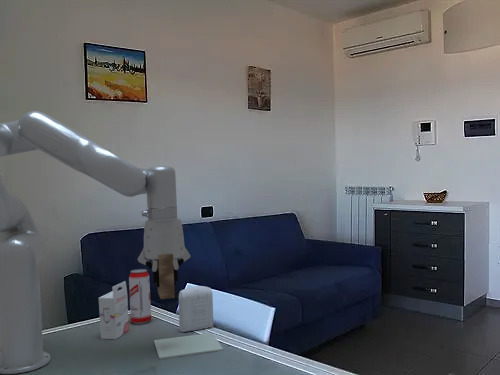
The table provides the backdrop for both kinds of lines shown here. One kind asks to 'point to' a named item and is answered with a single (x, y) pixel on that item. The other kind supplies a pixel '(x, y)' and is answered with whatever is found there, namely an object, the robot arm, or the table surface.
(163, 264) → the slab
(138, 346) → the table surface
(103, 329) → the ink cartridge box
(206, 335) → the board
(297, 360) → the table surface
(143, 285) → the red striped can
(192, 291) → the photo printer
